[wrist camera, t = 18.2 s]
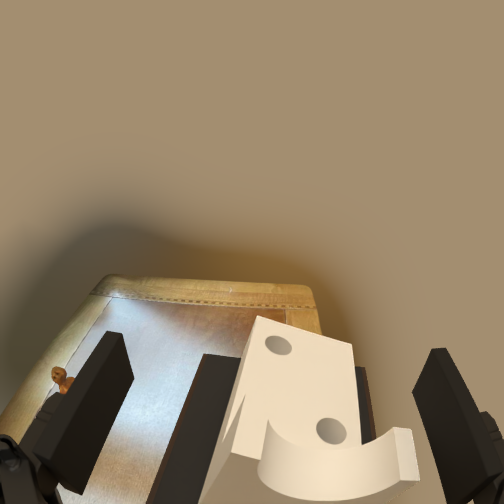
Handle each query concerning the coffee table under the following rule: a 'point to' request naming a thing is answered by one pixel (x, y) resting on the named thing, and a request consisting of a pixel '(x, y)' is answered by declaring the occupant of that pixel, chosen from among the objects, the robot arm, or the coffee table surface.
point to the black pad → (215, 430)
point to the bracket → (302, 429)
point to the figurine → (61, 379)
